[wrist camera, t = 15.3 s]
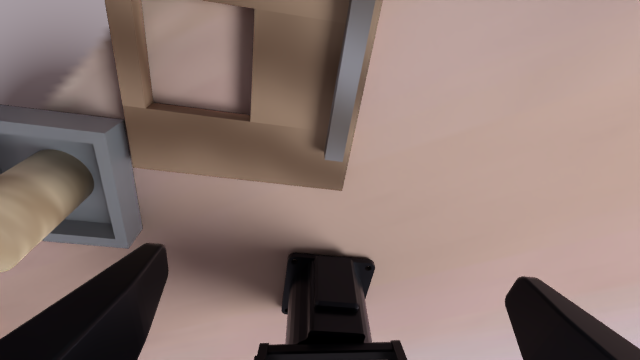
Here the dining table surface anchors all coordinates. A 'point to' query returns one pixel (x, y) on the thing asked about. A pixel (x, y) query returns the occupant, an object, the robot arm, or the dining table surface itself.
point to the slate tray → (96, 154)
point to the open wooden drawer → (258, 96)
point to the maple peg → (38, 200)
